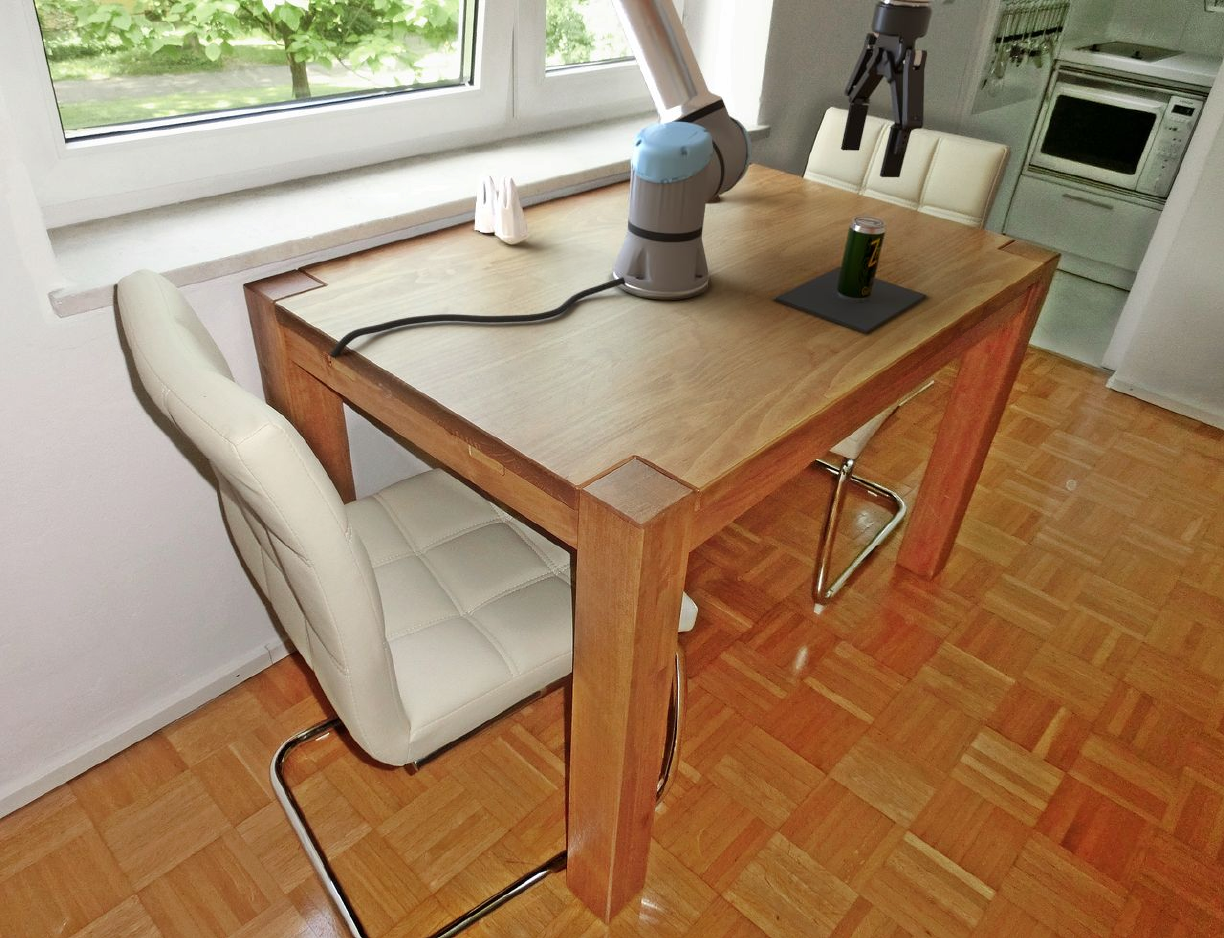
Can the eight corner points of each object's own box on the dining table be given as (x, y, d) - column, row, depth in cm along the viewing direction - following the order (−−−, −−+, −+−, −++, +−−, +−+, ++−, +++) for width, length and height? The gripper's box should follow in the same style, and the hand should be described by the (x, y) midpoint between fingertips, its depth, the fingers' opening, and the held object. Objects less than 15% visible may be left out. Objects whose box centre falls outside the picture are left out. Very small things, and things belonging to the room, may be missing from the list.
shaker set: (531, 245, 154) (531, 181, 148) (511, 250, 152) (510, 184, 146) (492, 225, 162) (491, 163, 155) (472, 229, 159) (470, 166, 153)
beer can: (831, 297, 141) (846, 222, 134) (841, 286, 145) (856, 213, 138) (864, 305, 139) (881, 230, 132) (874, 294, 143) (891, 220, 136)
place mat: (866, 334, 131) (867, 330, 131) (774, 300, 140) (775, 297, 140) (925, 298, 144) (926, 294, 144) (838, 269, 153) (839, 266, 152)
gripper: (978, 18, 111) (932, 189, 123) (889, -9, 131) (856, 140, 143) (924, 15, 110) (882, 188, 121) (841, -12, 129) (813, 139, 141)
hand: (868, 162), depth 132 cm, fingers open, 13 cm apart
